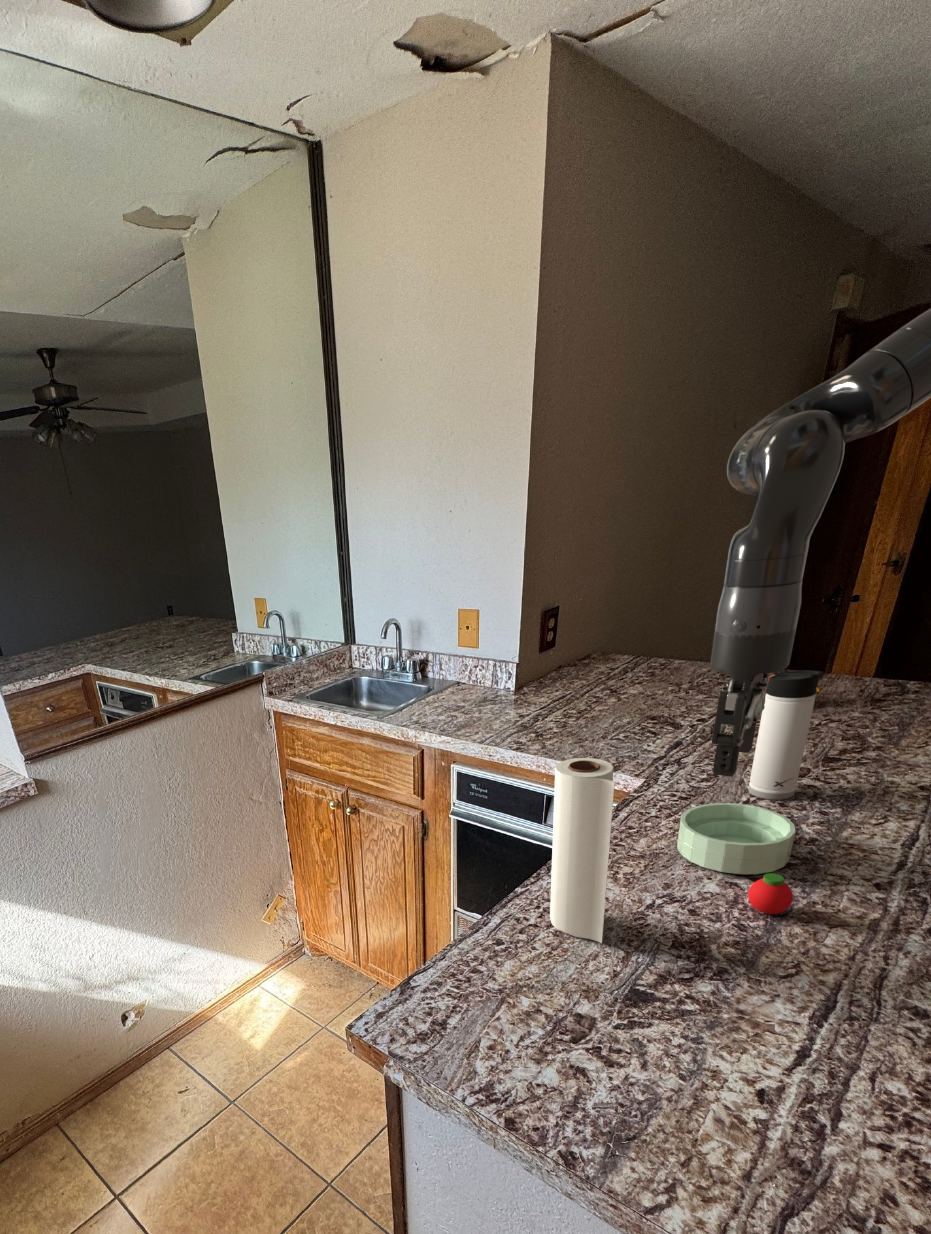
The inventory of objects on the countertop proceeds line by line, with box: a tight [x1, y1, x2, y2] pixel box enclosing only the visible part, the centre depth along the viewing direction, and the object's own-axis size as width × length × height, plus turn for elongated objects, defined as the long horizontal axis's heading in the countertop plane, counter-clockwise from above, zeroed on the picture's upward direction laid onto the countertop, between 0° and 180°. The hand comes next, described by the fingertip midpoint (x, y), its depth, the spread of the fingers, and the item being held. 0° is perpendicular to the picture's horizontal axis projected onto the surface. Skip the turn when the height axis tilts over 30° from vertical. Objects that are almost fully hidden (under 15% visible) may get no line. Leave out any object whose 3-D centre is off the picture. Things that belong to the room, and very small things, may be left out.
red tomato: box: [747, 872, 794, 915], centre depth 78 cm, size 4×4×5 cm
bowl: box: [676, 802, 796, 875], centre depth 90 cm, size 13×13×5 cm
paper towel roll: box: [549, 757, 616, 944], centre depth 77 cm, size 7×6×21 cm
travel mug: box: [747, 669, 824, 801], centre depth 101 cm, size 6×7×20 cm
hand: (732, 762), depth 79 cm, fingers open, 8 cm apart
